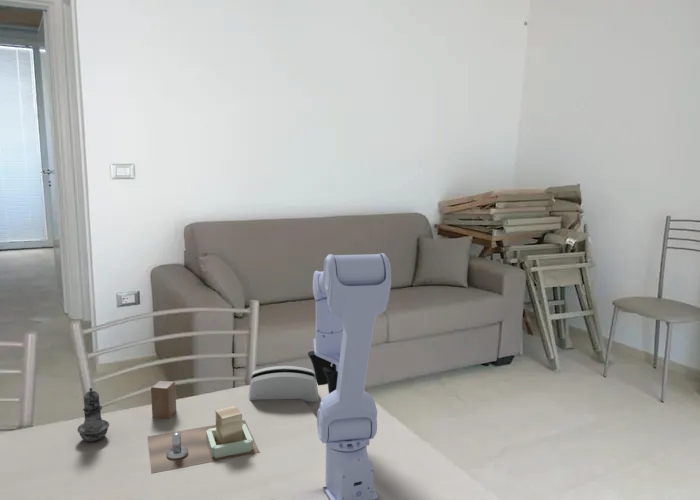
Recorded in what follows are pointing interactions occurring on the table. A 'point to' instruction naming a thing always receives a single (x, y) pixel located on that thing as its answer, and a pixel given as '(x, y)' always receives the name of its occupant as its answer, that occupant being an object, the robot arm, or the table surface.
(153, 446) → the walnut board
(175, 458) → the metal post
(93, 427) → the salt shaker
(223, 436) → the maple peg
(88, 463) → the table surface
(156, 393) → the wooden block
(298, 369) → the white rounded block
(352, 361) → the robot arm
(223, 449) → the socket collar
